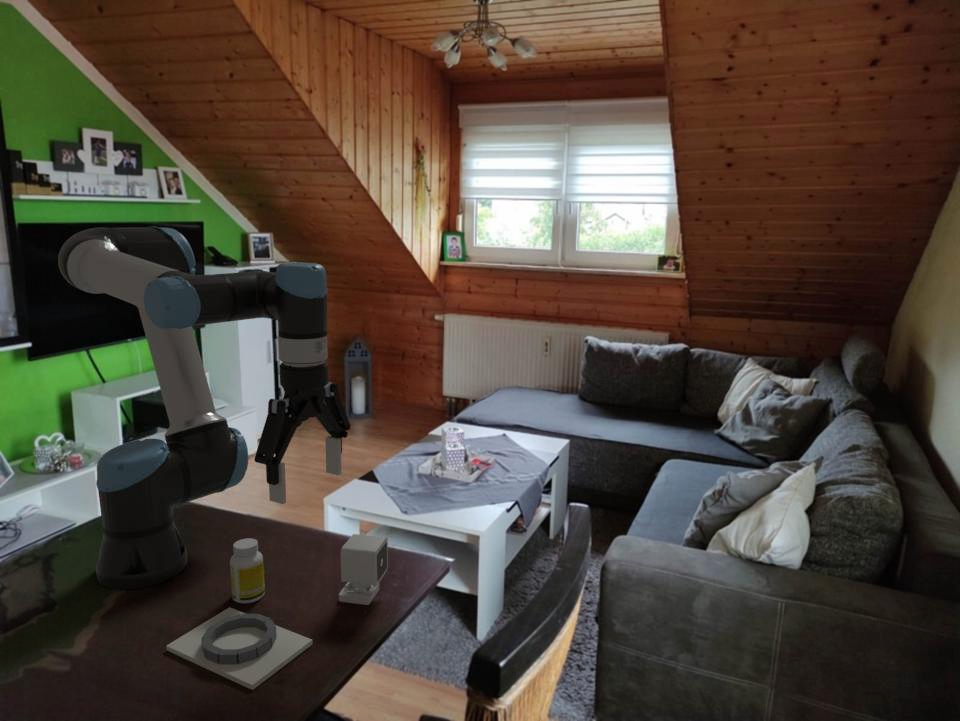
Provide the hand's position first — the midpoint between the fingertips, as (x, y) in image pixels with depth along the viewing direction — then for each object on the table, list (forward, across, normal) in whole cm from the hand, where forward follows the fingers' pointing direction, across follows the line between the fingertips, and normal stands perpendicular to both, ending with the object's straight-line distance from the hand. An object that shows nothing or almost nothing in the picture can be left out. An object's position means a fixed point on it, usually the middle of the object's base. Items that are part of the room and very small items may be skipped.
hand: (307, 486), depth 114 cm
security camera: (+20, +5, -8) cm, 22 cm away
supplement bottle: (+21, -4, +10) cm, 23 cm away
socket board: (+20, -16, 0) cm, 26 cm away
